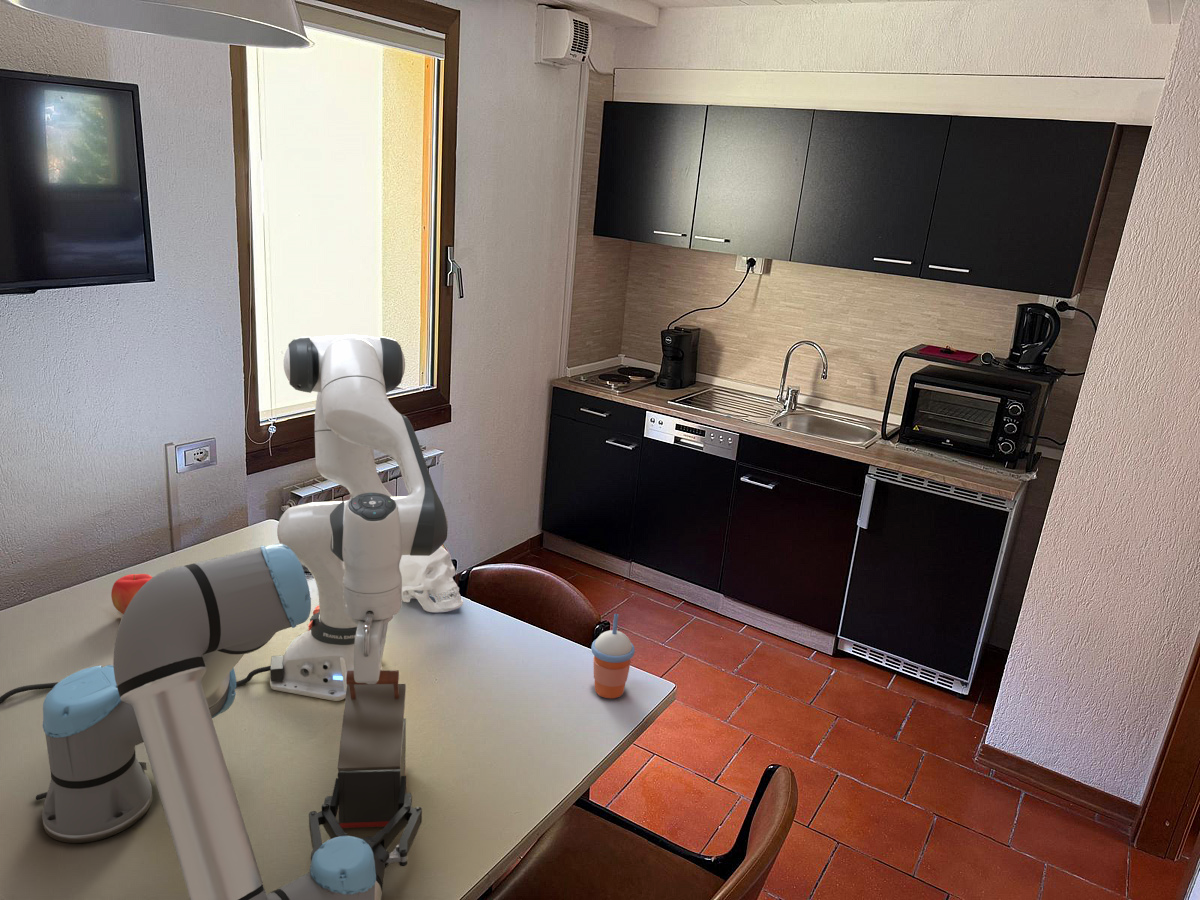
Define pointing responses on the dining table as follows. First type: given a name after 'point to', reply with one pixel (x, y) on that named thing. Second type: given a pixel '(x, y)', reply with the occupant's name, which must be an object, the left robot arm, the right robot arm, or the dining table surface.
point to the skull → (430, 581)
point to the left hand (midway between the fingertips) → (371, 784)
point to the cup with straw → (611, 661)
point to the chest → (370, 794)
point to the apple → (127, 590)
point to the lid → (372, 724)
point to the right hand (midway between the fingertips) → (372, 675)
